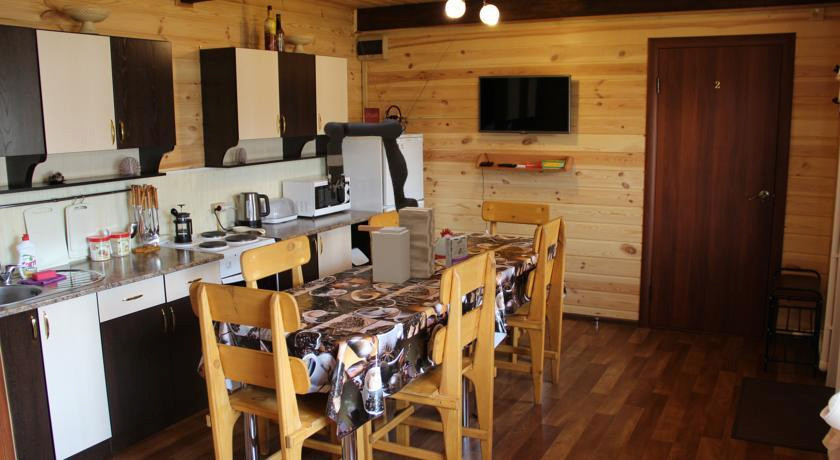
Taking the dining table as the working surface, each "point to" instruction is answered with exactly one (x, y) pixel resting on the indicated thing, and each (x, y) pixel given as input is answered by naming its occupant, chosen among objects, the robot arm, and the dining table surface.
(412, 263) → the tall stand
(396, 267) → the grey upright block
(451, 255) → the candy bar box
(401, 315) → the dining table surface
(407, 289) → the dining table surface
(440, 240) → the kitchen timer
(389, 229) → the turner
